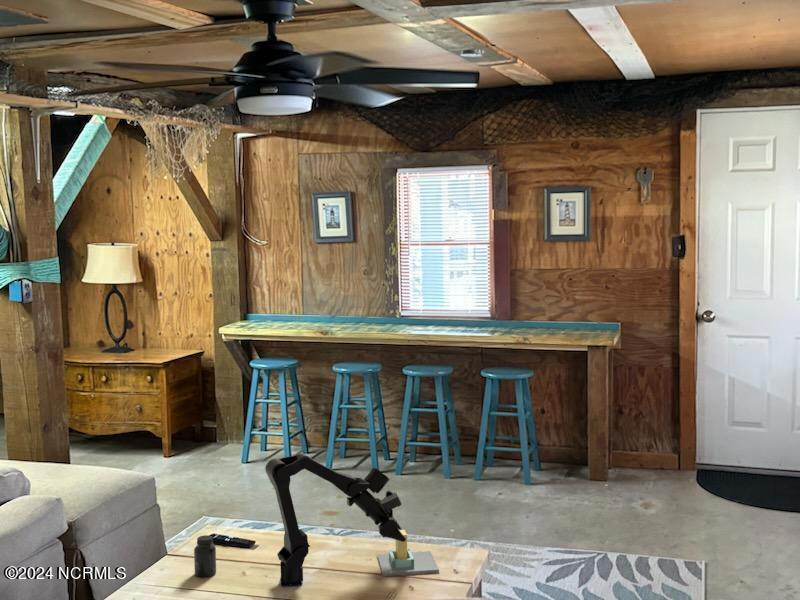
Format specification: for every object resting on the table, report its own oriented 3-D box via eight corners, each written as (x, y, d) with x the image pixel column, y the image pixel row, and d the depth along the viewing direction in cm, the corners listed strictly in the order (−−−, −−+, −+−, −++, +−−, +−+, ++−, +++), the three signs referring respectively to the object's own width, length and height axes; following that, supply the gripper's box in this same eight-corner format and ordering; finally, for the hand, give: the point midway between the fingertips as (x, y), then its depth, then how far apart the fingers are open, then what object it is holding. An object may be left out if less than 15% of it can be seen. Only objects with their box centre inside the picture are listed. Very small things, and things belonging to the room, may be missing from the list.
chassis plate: (383, 576, 284) (382, 565, 283) (377, 557, 299) (377, 547, 299) (438, 572, 286) (438, 562, 286) (430, 554, 302) (430, 544, 302)
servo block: (398, 565, 290) (397, 535, 289) (395, 559, 295) (395, 530, 294) (407, 564, 290) (406, 534, 289) (404, 559, 295) (404, 529, 294)
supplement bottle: (190, 576, 285) (189, 540, 284) (202, 568, 291) (201, 532, 290) (209, 579, 282) (208, 542, 281) (220, 571, 289) (219, 535, 288)
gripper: (390, 495, 280) (424, 527, 283) (382, 478, 298) (415, 508, 301) (365, 520, 280) (400, 553, 282) (359, 502, 298) (392, 532, 301)
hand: (402, 535), depth 292 cm, fingers open, 9 cm apart
